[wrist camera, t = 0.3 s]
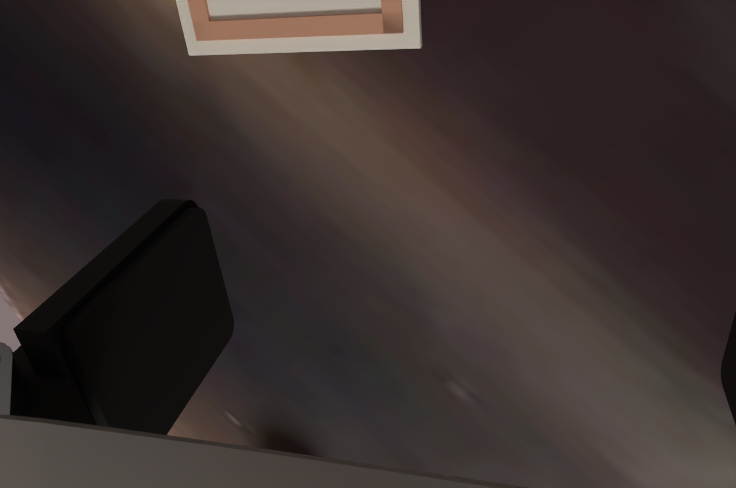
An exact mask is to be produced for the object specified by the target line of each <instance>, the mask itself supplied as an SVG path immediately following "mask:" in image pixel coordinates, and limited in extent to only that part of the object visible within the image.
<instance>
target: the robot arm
mask: <svg viewBox="0 0 736 488" xmlns="http://www.w3.org/2000/svg"><path fill="white" fill-rule="evenodd" d="M233 329H234V320H233V315H232V311H231V308H230V304H229V300H228V296H227V292H226V288H225V285H224V281H223V277H222V273H221V269H220V265H219V261H218V258H217V254H216V250H215V246H214V242H213V238H212V234H211V231H210V227H209V223H208V219H207V216H206V213H205V211H204V210H203V209H202V208H198V206H197V204H196V203H195V202H194V201H192V200H174V199H163V200H161V201H159V202H158V203H157V204H156V205H154V206H153V207H152V208H151V209H150V210H149V211H148V212H146V213H145V214H144V215H143V216H142V217H141V218H140V219H138V220H137V221H136V222H135V223H134V224H133V225H132V226H130V227H129V228H128V229H127V230H126V231H125V232H124V233H122V234H121V235H120V236H119V237H118V238H117V239H116V240H114V241H113V242H112V243H111V244H110V245H109V246H108V247H106V248H105V249H104V250H103V251H102V252H101V253H100V254H98V255H97V256H96V257H95V258H94V259H93V260H92V261H90V262H89V263H88V264H87V265H86V266H85V267H84V268H82V269H81V270H80V271H79V272H78V273H77V274H76V275H74V276H73V277H72V278H71V279H70V280H69V281H68V282H66V283H65V284H64V285H63V286H62V287H61V288H60V289H58V290H57V291H56V292H55V293H54V294H53V295H52V296H50V297H49V298H48V299H47V300H46V301H45V302H44V303H42V304H41V305H40V306H39V307H38V308H37V309H36V310H34V311H33V312H32V313H31V314H30V315H29V316H28V317H26V318H25V319H24V320H23V321H22V322H21V323H20V324H18V325H17V326H16V327H15V328H14V329H13V330H14V331H15V333H16V336H17V338H18V340H19V342H20V344H21V346H20V347H19V348H18V349H17V350H16V351H15V352H12V350H11V348H10V347H9V346H7V345H6V344H5V343H1V342H0V488H528V487H521V486H515V485H508V484H501V483H495V482H488V481H481V480H475V479H468V478H461V477H455V476H448V475H441V474H434V473H428V472H421V471H414V470H407V469H400V468H393V467H387V466H380V465H373V464H366V463H359V462H352V461H345V460H339V459H332V458H325V457H318V456H311V455H304V454H297V453H290V452H283V451H276V450H269V449H262V448H255V447H248V446H241V445H234V444H227V443H220V442H212V441H205V440H198V439H191V438H184V437H176V436H169V435H167V433H168V432H169V430H170V429H171V427H172V426H173V424H174V423H175V421H176V420H177V418H178V417H179V415H180V414H181V412H182V411H183V409H184V408H185V406H186V405H187V403H188V402H189V400H190V399H191V397H192V396H193V394H194V393H195V391H196V390H197V388H198V387H199V385H200V384H201V382H202V381H203V379H204V378H205V376H206V375H207V373H208V372H209V370H210V369H211V367H212V366H213V364H214V363H215V361H216V360H217V358H218V357H219V355H220V354H221V352H222V351H223V349H224V348H225V346H226V344H227V343H228V341H229V340H230V338H231V336H232V333H233ZM721 380H722V385H723V389H724V392H725V395H726V398H727V401H728V404H729V407H730V409H731V412H732V415H733V418H734V421H735V424H736V313H735V316H734V320H733V324H732V327H731V331H730V335H729V338H728V342H727V346H726V349H725V353H724V356H723V360H722V365H721Z"/></svg>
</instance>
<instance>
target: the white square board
mask: <svg viewBox="0 0 736 488" xmlns="http://www.w3.org/2000/svg"><path fill="white" fill-rule="evenodd" d="M176 3H177V7H178V11H179V15H180V20H181V24H182V28H183V32H184V36H185V41H186V45H187V49H188V53H189V56H190V55H222V54H254V53H285V52H317V51H348V50H380V49H411V48H421V47H422V29H421V6H420V0H176Z"/></svg>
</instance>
